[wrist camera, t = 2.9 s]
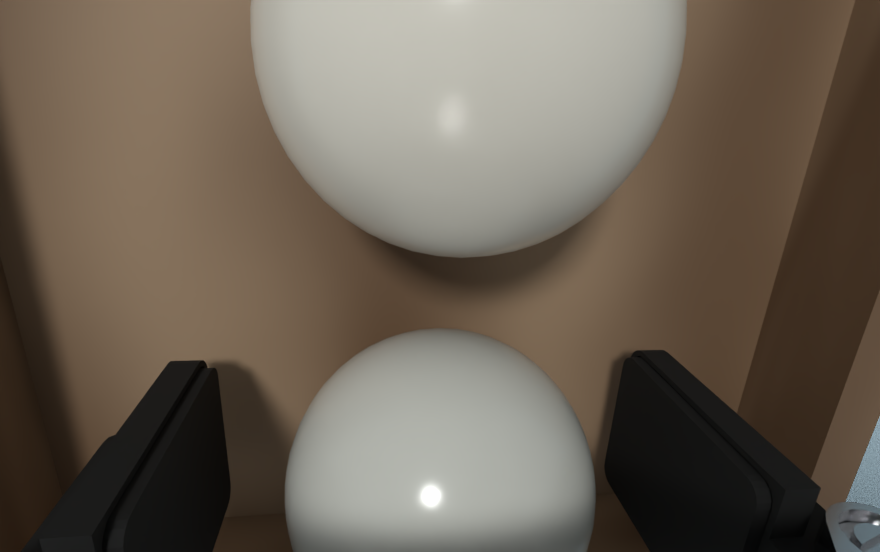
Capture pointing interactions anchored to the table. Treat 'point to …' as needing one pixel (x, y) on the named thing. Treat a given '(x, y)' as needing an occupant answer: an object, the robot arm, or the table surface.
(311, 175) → the pebble
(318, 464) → the white ball
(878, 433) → the table surface
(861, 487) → the table surface
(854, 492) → the table surface
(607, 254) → the tray
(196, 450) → the robot arm
